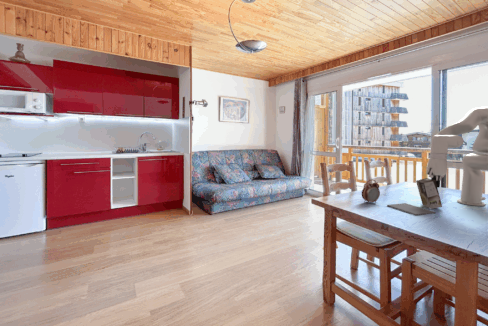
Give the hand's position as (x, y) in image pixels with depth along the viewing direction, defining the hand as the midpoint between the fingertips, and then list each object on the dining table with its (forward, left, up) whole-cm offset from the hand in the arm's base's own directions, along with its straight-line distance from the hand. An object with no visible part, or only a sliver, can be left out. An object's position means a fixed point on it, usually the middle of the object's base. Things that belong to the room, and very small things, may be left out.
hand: (435, 186), depth 138 cm
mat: (+18, 0, -12) cm, 22 cm away
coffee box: (+1, 0, -12) cm, 12 cm away
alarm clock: (+29, -18, -13) cm, 37 cm away
